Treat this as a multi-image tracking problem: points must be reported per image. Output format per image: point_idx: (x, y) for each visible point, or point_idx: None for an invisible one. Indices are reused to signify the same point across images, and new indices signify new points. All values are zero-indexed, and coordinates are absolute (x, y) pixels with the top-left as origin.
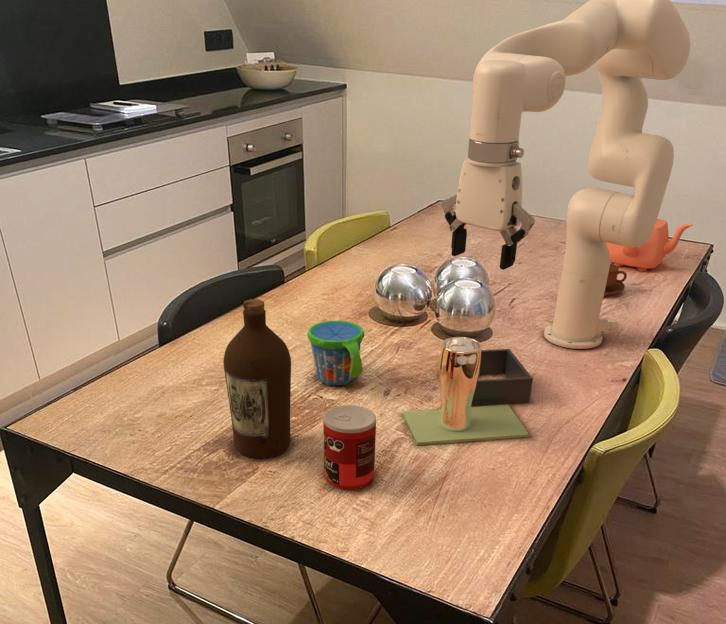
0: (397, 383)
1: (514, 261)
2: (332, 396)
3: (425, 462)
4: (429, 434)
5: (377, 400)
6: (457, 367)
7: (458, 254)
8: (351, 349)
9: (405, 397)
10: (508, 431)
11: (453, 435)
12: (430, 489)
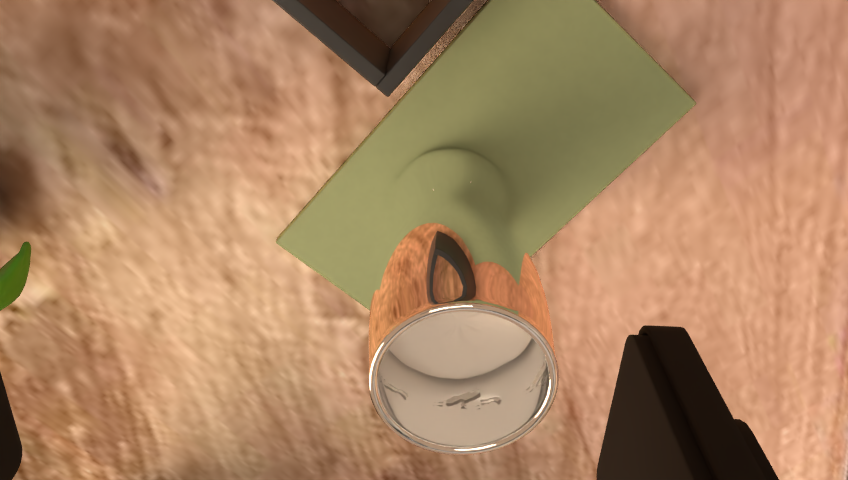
0: (89, 65)
1: (738, 420)
2: (29, 284)
3: None
4: None
5: (147, 215)
6: (493, 403)
7: (9, 414)
8: None
9: (196, 137)
10: (627, 133)
11: None
12: (568, 462)
